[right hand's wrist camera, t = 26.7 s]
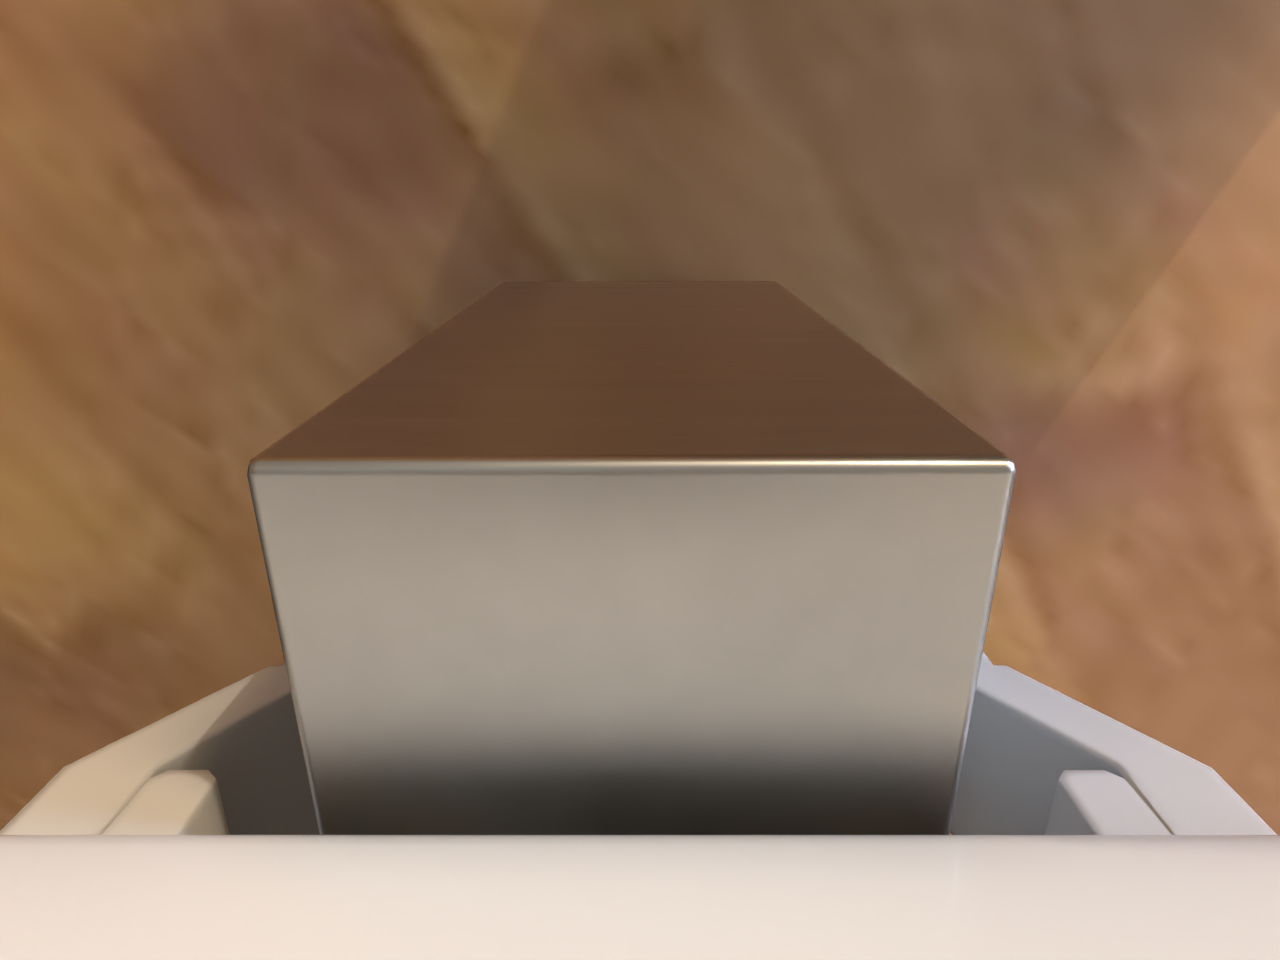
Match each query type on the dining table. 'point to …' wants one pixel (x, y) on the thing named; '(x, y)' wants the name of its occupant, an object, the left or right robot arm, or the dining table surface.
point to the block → (633, 574)
